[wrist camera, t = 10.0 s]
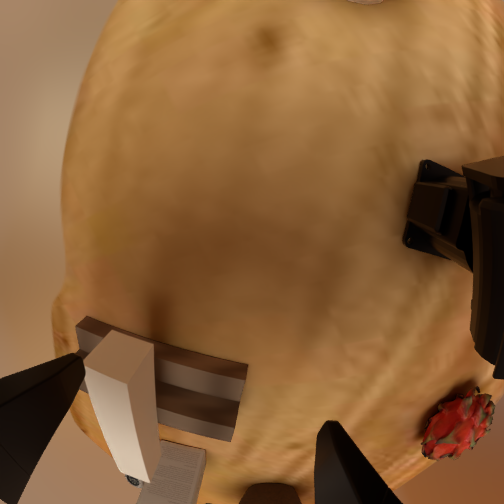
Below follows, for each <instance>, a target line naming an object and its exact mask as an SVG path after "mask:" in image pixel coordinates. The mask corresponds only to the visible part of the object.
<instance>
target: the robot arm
mask: <svg viewBox="0 0 504 504" xmlns="http://www.w3.org/2000/svg"><path fill="white" fill-rule="evenodd" d="M426 164H428V169H426ZM462 170H463V175H464V176H465V177H464V176H462V175H460V174H458V173H456V172H454V171H452V170H450V169H448V168H446V167H444V166H442V165H440V164H438V163H435V162H433V161H431V160H427V159H426V160H422V161H421V163H420V168H419V174H418V179H417V183H415V185H414V189H413V194H412V198H411V202H410V206H409V211H408V214H407V218H408V221H407V225H406V228H405V232H404V236H403V240H402V241H403V244H404V245H405V246H406V247H408V248H411V249H415V250H419V251H422V252H426V253H429V254H432V255H436V256H439V257H443V258H446V259H449V260H453V261H454V262H456V263H458V264H459V265H461V266H462V267H464V268H465V269H467V270H468V271H470V272H471V273H473V296H472V300H471V310H472V311H471V322H470V331H471V334H472V338H473V341H474V342H475V346H474V348H475V350H476V351H477V352H478V353H479V355H480V356H481V357H482V358H484V359H485V360H487V361H488V362H490V363H491V364H493V365H495V368H494V372H493V378H494V379H504V156H500V157H496V158H491V159H487V160H483V161H479V162H474V163H470V164H466V165H462ZM409 238H411V241H410V242H409V243H408V239H409ZM85 375H86V370H85V366H84V362H83V358H82V357H81V356H80V355H77V354H75V353H70V354H67V355H65V356H62V357H59V358H56V359H54V360H51V361H48V362H45V363H43V364H40V365H37V366H34V367H32V368H29V369H26V370H23V371H20V372H17V373H15V374H12V375H9V376H6V377H3V378H1V379H0V499H1V500H2V501H4V502H5V503H7V504H17V503H18V501H19V499H20V497H21V495H22V492H23V491H24V489H25V487H26V485H27V483H28V481H29V479H30V476H31V474H32V473H33V471H34V469H35V467H36V465H37V463H38V461H39V459H40V457H41V456H42V454H43V452H44V450H45V449H46V447H47V445H48V443H49V442H50V440H51V438H52V436H53V435H54V433H55V431H56V430H57V428H58V426H59V425H60V423H61V421H62V420H63V418H64V416H65V415H66V413H67V411H68V410H69V408H70V406H71V405H72V403H73V401H74V399H75V396H76V394H77V392H78V390H79V388H80V386H81V384H82V382H83V380H84V378H85ZM314 487H315V504H403V503H401V501H400V500H399V499H398V498H397V496H396V495H395V494H394V493H393V492H392V490H391V489H390V488H388V485H387V484H386V483H385V482H384V480H383V479H382V478H381V477H380V475H379V474H378V473H377V471H376V470H375V469H374V468H373V466H372V465H371V464H370V462H369V461H368V460H367V459H366V457H365V456H364V455H363V453H362V452H361V451H360V449H359V448H358V447H357V446H356V444H355V443H354V442H353V440H352V439H351V438H350V436H349V435H348V434H347V432H346V431H345V430H344V428H343V427H342V426H341V424H340V423H339V422H338V421H333V420H327V421H326V422H325V423H324V425H323V426H322V428H321V429H320V431H319V432H318V435H317V441H316V455H315V466H314Z"/></svg>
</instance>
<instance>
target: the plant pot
mask: <svg viewBox="0 0 504 504" xmlns="http://www.w3.org/2000/svg"><path fill="white" fill-rule="evenodd" d="M239 504H301V501H300V499H299V497H298V495H297V493H296V491H295V490H294V488H293V487H291V486H289V485H284V484H277V483H264V484H257V485H253V486H251V487H249V488H248V490H247V491H246V493H245V494H244V496H243V498H242V499H241V501H240V502H239Z"/></svg>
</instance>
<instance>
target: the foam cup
mask: <svg viewBox="0 0 504 504" xmlns="http://www.w3.org/2000/svg"><path fill="white" fill-rule="evenodd" d="M348 1H351V2H356V3H361V4H366V5H367V4H376V3H381V2H382V1H383V0H348Z"/></svg>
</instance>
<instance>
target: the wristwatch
mask: <svg viewBox="0 0 504 504" xmlns="http://www.w3.org/2000/svg"><path fill="white" fill-rule="evenodd" d="M125 477H126V479H127V481H128V482H129V483H130V484H131V485H133V486H135V487H138V488H142V487H143V485H144V482H145V481H142V480H139V479H137V478H134V477H132V476H129V475H127V474H125Z"/></svg>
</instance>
